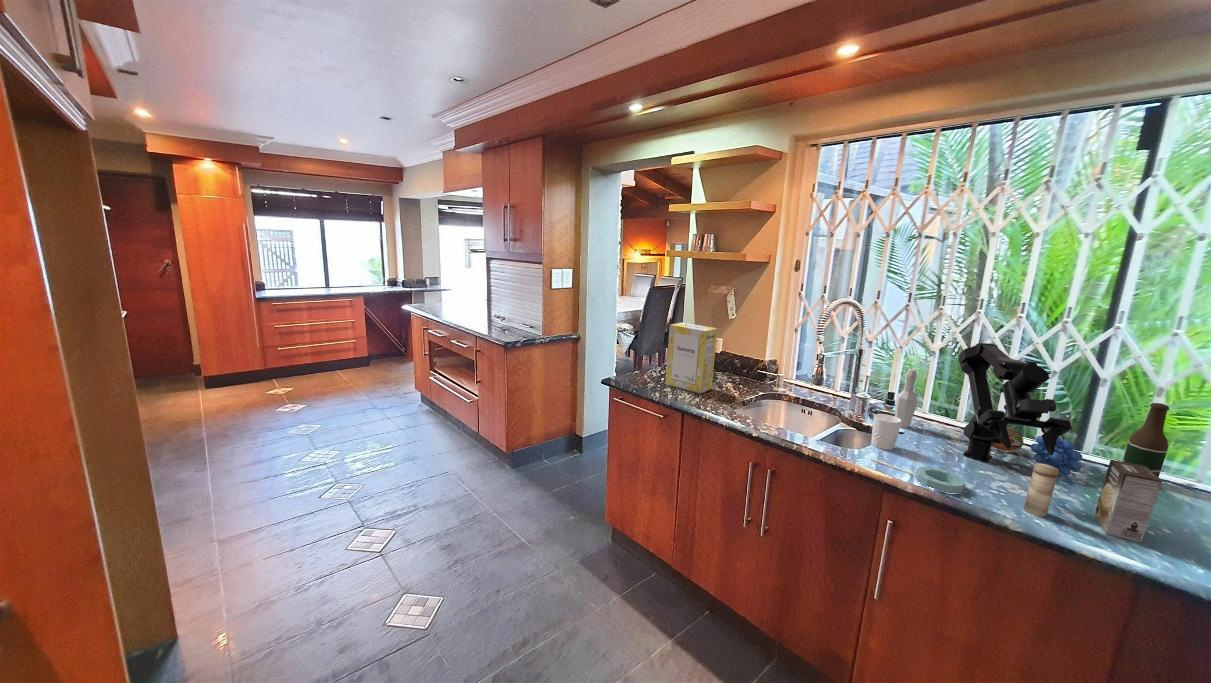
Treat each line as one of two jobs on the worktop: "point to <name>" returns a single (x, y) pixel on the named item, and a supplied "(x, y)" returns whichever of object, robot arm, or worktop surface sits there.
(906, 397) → the faceted bottle
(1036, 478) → the wooden pepper mill
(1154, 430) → the beer bottle
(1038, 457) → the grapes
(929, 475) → the green ring
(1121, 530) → the coffee box
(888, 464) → the thin beige stick
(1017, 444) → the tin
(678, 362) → the pasta box
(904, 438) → the worktop surface
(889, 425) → the white cup
